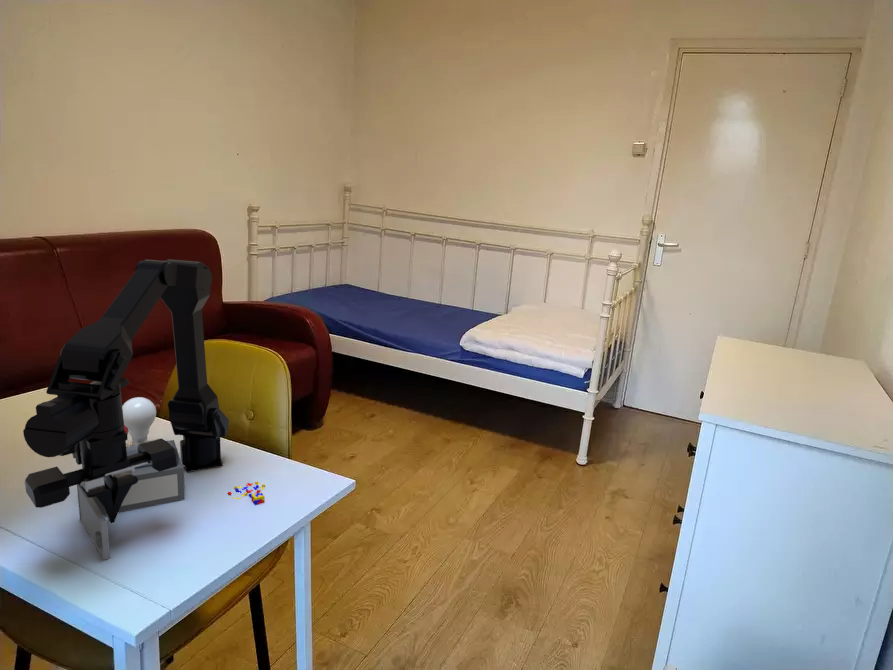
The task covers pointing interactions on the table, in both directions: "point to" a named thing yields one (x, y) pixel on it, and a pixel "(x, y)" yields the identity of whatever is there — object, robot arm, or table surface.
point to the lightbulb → (138, 418)
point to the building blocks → (256, 498)
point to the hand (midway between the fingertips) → (111, 521)
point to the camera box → (152, 485)
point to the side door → (94, 523)
